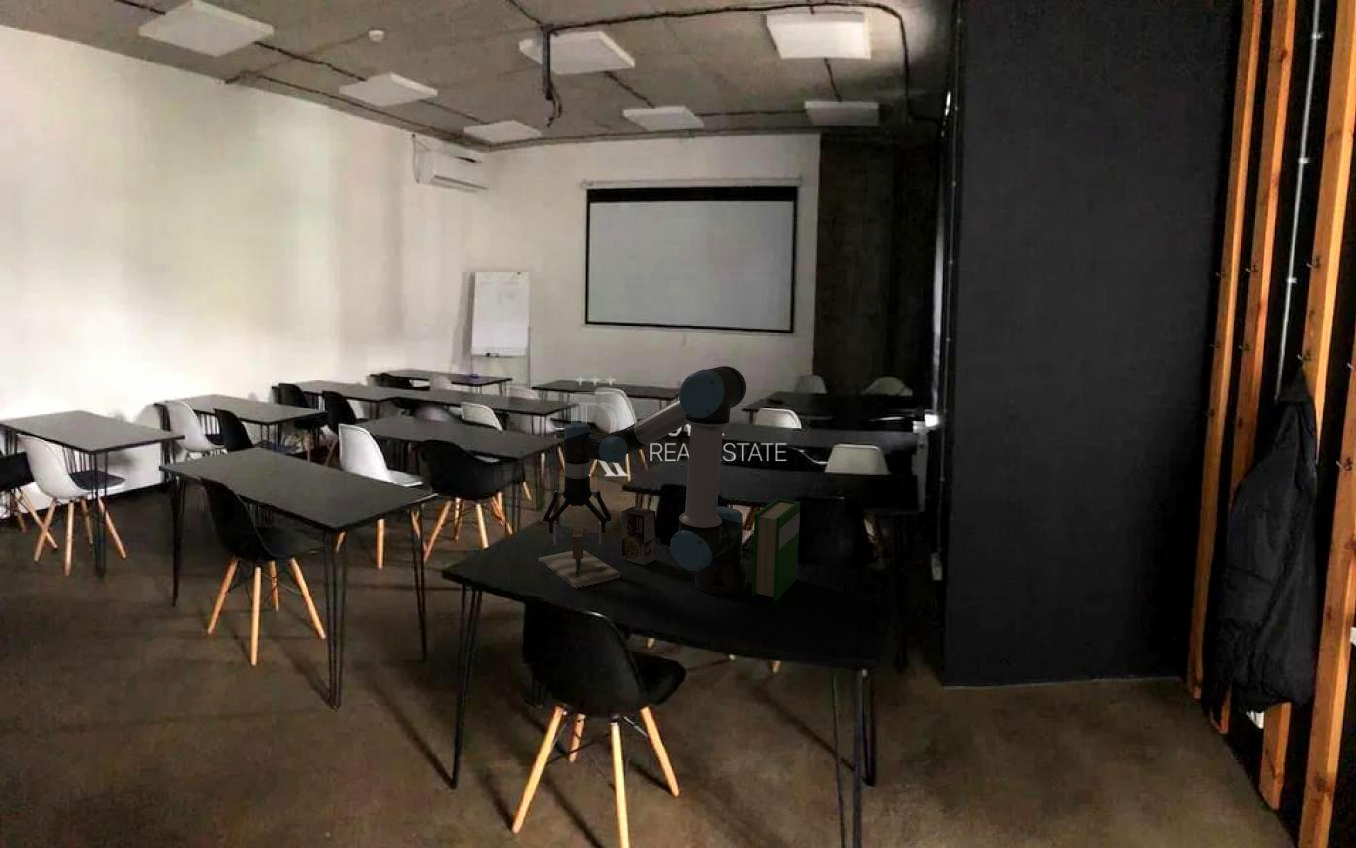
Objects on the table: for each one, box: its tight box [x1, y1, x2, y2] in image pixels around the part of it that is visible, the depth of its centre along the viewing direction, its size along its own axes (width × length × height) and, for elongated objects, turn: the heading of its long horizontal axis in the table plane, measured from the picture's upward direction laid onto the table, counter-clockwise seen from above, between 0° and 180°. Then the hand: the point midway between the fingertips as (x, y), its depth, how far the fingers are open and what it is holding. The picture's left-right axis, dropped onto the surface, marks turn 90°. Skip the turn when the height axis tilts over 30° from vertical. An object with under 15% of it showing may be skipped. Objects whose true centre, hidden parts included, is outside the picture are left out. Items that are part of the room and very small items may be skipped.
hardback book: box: [751, 497, 801, 602], centre depth 220 cm, size 18×7×24 cm, turn 153°
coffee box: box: [620, 506, 656, 566], centre depth 241 cm, size 9×6×16 cm
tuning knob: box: [572, 527, 585, 574], centre depth 230 cm, size 12×3×10 cm, turn 6°
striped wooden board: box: [538, 550, 621, 589], centre depth 233 cm, size 24×15×2 cm, turn 36°
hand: (577, 543), depth 232 cm, fingers open, 13 cm apart
